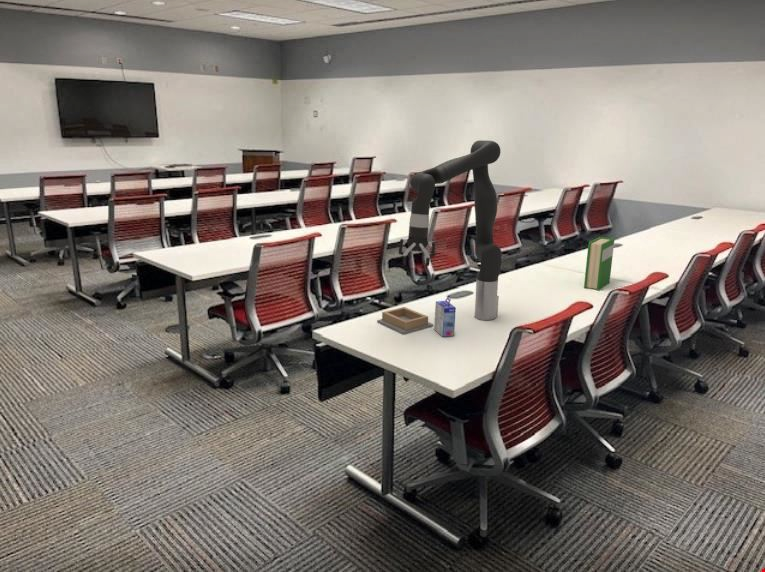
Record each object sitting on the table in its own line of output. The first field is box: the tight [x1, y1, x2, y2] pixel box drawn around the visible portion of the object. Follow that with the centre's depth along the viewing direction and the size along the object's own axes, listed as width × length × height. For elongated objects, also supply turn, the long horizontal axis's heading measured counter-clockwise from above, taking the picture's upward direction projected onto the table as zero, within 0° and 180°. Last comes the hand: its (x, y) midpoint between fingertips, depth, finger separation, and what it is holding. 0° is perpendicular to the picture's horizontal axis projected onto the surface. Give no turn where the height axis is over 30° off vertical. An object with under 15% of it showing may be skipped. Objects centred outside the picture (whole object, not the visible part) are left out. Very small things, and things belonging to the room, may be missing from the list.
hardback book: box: [583, 236, 616, 292], centre depth 294 cm, size 18×7×24 cm, turn 142°
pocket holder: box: [376, 306, 434, 335], centre depth 242 cm, size 16×18×4 cm
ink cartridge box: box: [433, 296, 457, 338], centre depth 231 cm, size 10×6×14 cm, turn 15°
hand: (415, 266), depth 227 cm, fingers open, 8 cm apart
